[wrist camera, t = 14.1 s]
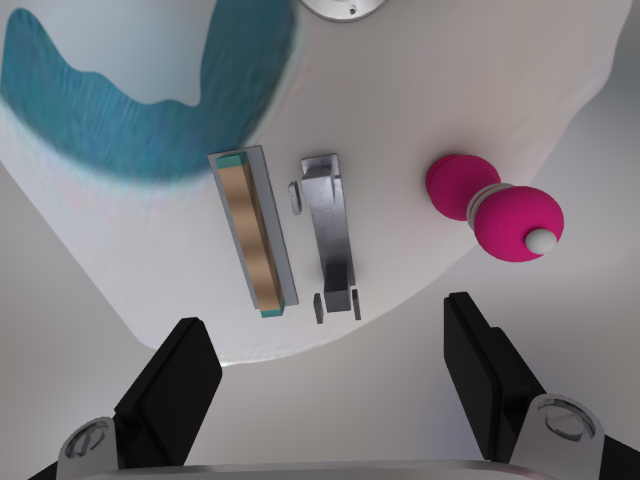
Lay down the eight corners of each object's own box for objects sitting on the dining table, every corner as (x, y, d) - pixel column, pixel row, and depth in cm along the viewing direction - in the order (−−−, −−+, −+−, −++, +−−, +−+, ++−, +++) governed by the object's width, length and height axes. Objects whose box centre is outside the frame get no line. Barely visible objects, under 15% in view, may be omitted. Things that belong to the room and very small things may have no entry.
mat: (209, 154, 39) (207, 155, 39) (261, 145, 38) (260, 146, 38) (256, 306, 49) (255, 309, 48) (298, 302, 48) (298, 304, 47)
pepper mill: (485, 196, 39) (610, 276, 21) (428, 214, 40) (500, 304, 22) (475, 141, 36) (608, 177, 18) (415, 162, 38) (483, 216, 20)
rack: (299, 159, 39) (286, 176, 30) (339, 153, 38) (338, 168, 29) (323, 285, 46) (319, 330, 37) (357, 282, 45) (361, 326, 36)
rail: (223, 155, 38) (214, 159, 36) (246, 151, 38) (238, 155, 35) (266, 305, 48) (262, 317, 45) (285, 303, 47) (282, 315, 44)
